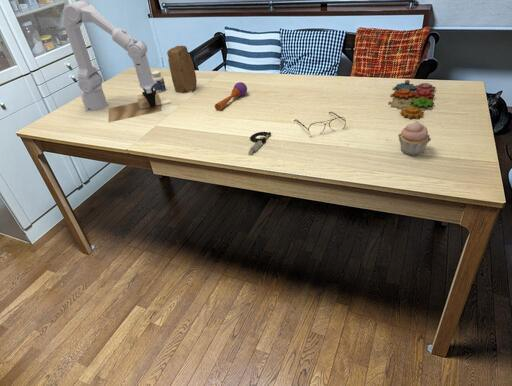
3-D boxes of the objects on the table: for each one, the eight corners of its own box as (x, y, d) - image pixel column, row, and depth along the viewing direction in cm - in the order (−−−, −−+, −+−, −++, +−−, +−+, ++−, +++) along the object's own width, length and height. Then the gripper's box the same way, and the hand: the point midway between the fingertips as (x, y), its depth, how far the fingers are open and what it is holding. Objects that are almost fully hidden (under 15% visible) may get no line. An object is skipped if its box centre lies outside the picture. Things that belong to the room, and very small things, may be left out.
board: (109, 124, 153) (108, 122, 152) (109, 110, 165) (108, 108, 164) (162, 113, 157) (161, 110, 156) (158, 99, 169) (158, 97, 169)
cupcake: (420, 141, 118) (426, 112, 112) (433, 156, 111) (439, 126, 105) (391, 144, 118) (395, 115, 112) (401, 159, 111) (406, 130, 105)
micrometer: (256, 132, 135) (255, 126, 134) (273, 135, 132) (272, 129, 130) (234, 152, 125) (233, 146, 123) (252, 156, 122) (252, 149, 120)
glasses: (308, 138, 128) (307, 124, 125) (293, 125, 141) (292, 112, 138) (346, 129, 130) (346, 116, 128) (328, 117, 143) (328, 105, 140)
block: (186, 96, 170) (176, 51, 158) (173, 94, 173) (163, 50, 161) (200, 87, 177) (192, 44, 165) (188, 85, 180) (179, 43, 168)
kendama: (210, 101, 152) (236, 80, 164) (215, 114, 156) (240, 92, 168) (220, 100, 149) (247, 79, 161) (225, 113, 152) (251, 92, 164)
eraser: (162, 108, 162) (161, 103, 161) (161, 104, 165) (160, 100, 164) (171, 106, 163) (170, 101, 161) (170, 103, 166) (169, 98, 164)
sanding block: (141, 110, 159) (137, 99, 156) (140, 106, 163) (137, 95, 160) (161, 105, 161) (158, 94, 158) (160, 101, 164) (157, 91, 161)
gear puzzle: (432, 122, 128) (434, 111, 126) (383, 119, 134) (384, 108, 132) (434, 88, 151) (436, 78, 148) (393, 86, 156) (394, 77, 154)
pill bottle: (165, 94, 174) (160, 73, 168) (154, 95, 175) (148, 74, 169) (167, 89, 179) (162, 69, 173) (156, 90, 179) (151, 70, 173)
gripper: (155, 76, 148) (163, 107, 156) (152, 66, 160) (159, 95, 168) (137, 79, 147) (146, 111, 155) (135, 69, 158) (144, 99, 166)
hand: (152, 103), depth 161 cm, fingers open, 7 cm apart
